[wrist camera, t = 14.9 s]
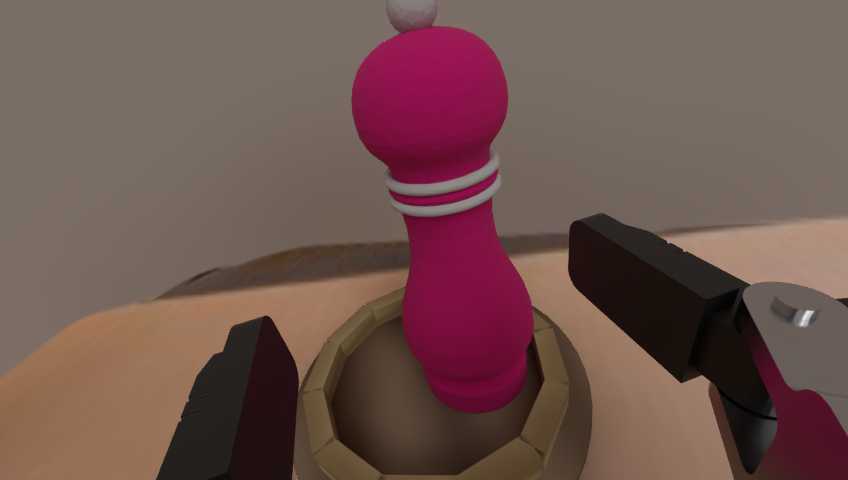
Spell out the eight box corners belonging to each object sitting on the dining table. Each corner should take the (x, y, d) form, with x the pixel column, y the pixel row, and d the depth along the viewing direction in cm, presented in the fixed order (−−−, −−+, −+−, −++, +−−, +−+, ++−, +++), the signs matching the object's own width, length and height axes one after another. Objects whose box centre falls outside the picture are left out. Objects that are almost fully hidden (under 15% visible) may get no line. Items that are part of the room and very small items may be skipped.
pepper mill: (445, 316, 26) (375, -2, 16) (545, 336, 22) (540, -52, 12) (398, 400, 21) (248, 5, 10) (520, 443, 17) (474, -78, 7)
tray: (326, 690, 12) (300, 675, 11) (285, 354, 27) (272, 331, 26) (673, 434, 17) (682, 403, 16) (479, 268, 32) (476, 245, 31)
